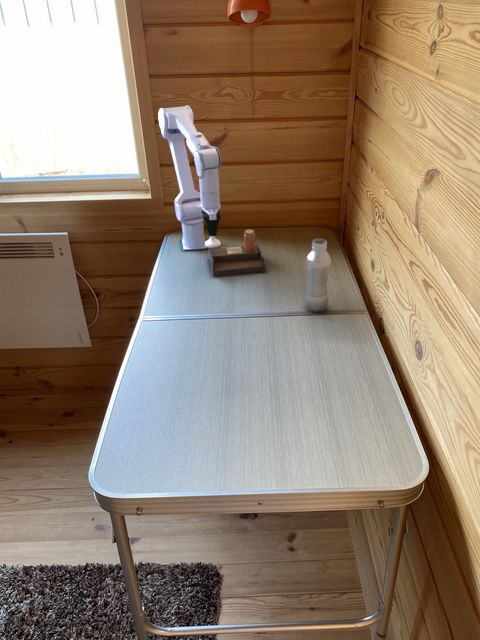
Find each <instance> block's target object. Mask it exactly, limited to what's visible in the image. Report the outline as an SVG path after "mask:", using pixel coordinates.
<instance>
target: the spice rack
mask: <svg viewBox="0 0 480 640" xmlns="http://www.w3.org/2000/svg"><path fill="white" fill-rule="evenodd" d="M207 248H208V260H209V265H210V270H211V274H212V277H223V276H224V277H225V276H232V275H233V276H234V275H245V274H257V273H265V256H264V254H263V251H262V250H261V247H260V244H259V243H258V242H257V241H255V250H254V251H252V252H247V251H245V250H244V245H243V246H229V247H214V248H212V247H207Z"/></svg>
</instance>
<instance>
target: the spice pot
mask: <svg viewBox="0 0 480 640" xmlns="http://www.w3.org/2000/svg"><path fill="white" fill-rule="evenodd" d="M255 245H256V233H255V230H253V229H246V230H244V233H243V246H244V250H245V251H247V252H252V251H254V250H255Z"/></svg>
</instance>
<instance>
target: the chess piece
mask: <svg viewBox="0 0 480 640" xmlns="http://www.w3.org/2000/svg"><path fill="white" fill-rule="evenodd" d="M221 244H222V243H221V241H220V239H217V238H216V236H209V239H207V240H205V245H206V246H207V248H208V247H211V248H219V247H220V246H221Z"/></svg>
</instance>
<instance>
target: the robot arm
mask: <svg viewBox="0 0 480 640" xmlns="http://www.w3.org/2000/svg"><path fill="white" fill-rule="evenodd" d="M194 119H195V118H194V112H193V110H192V108H191V107H190V105H185V106H176V107H175V106H174V107H165V108H164V107H161V108H159V110H158V124H159V128H160V132H161V135H162V138H163V139H165V140H167V142H168V145H169V148H170V152H171V156H172V157H171V158H172V160H173V166H174V170H175V173H176V179H177V183H178V187H179V191H180V192H179V193H178V194H177V196H176V197H175V199H174V201H173V202H174V211H175V216H176V219H177V220H178V221H179V222H180V223H181V229H182V230H181V231H182V239H181V242H182V243H181V244H182V249H183V251H192V250H193V251H194V250H204V249H206V250H207V248H208V247H207V246H206V245H205V242H206V237H205V230H204V223H205V225H206V229H207V233H208V236H209V237H210V236H215V237H216V236H217V233H218V227H219V223H220V221H221V218H222V214H221V213H220V212H221V210H220V209H221V208H222V205H221V200H220V199H221V198H220V181H219V169H220V168H221V166H222V157H221V153H220V150H219V148H218V147H217V146H213V145H211V144H210V143H209V141H208V140H207V138H206V136H204V134H203V133H202V132H200V131H198V130H197V128H196V126H195V124H194V122H195V121H194ZM185 139H186V144H185ZM186 146H187V148H188V150H189V151H190V153H191V154H192V156H193V160H194V165H195V169H196V174H197V176H198V182H199V191H198V190H197V189H195V184H194V180H193V175H192V170H191V165H190V162H189V158H188V153H187V148H186Z"/></svg>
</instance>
